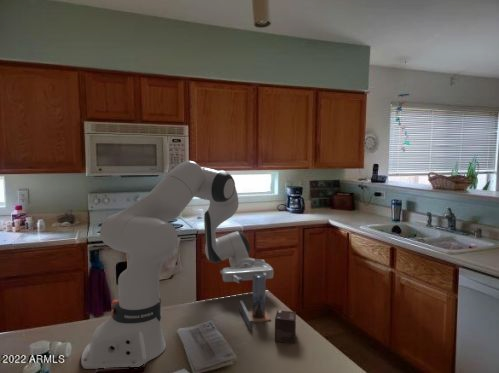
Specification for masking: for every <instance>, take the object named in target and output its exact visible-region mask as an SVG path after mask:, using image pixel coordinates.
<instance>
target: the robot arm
mask: <svg viewBox="0 0 499 373" xmlns="http://www.w3.org/2000/svg"><path fill="white" fill-rule="evenodd" d="M194 197H195V198H199V199H200V200H205V201H209V207H208V209H207V210H206V211H205V213H204V215H203V216H204V217H203V218H204V220H203V222H204V224H203V226H204V240H205V243H204V253H205V255H206V256H205V257H206V259H207V260H208V262H211V263H214V264H218V263H220V262H223V261H224V260H227V259H228V262H229V265H230V266H227V267H223V268H222V269H220V270H219V272H220V275H222V281H223V282H225V283H231V282H232V283H233V282H235V283H237V284H242V282H243V281H253V275H256V274H262V275H265V276H266V280H267V279H273V278H274V274H275V273H274V268H273V267H272V266H271V265H270V264H269V263H267V262H266V261H265V259H260V258H259V259H258V258H253V257H250V253H251V246H250V242H249V241H248V238H247V237H246V235H245V234H244V233H243V232H241V231H238V230H237V231H233V232H230V233H228V234H225V235H223V236H219V237H217V236H216V230H217V229H218V227H219V226H220V225H221V224H223V223H224V222H227V220H229V219H230V218H232V217H233V216H234V215H235V214H236V213H237V210H238V209H239V197H238V191H237V188H236V182H235V179H234V178H233V176H232V175H231V174H230V173H229V172H227V171H225V170H218V169H213V168H209V167H206V166H200V165H199V164H198V163H197V162H195V161H194V160H193V161H192V160H184V161H182V162H180V163H179V164H178V165H176V166H175V167H174V168H172V169H171V170H170V171H169V172H168V173H167V174H166V175H165V176H164V177H163V178H162V179H161V180H160V181H159V182H158V183H157V184H156V185H155V186H154V187H153V188H152V190H151V191H149V192H148V193H147V194H145V195H144V197H142V198H140V199H139V200H137V201H136V202H134V203H133V204H131V205H130V206H128V207H127V208H125V209H123V210H121V211H119V212H117V213H114V214H111V215H108V216H107V217H106V218H105V219H104V220H103V222H102V223H101V225H100V228H99V236H100V239H101V240H102V242H103V243H104V245H107V246H108V247H110V248H111V249H113V250H115V251H118V252H120V253H126V254H128V258H129V259H128V263H127V264H128V265H127V267H126V269H125V270H123V271H122V272H121V273H120V274H119V276H118V278H117V285H118V287H117V288H118V289H117V290H118V292H117V293H118V299H113V300H112V301H111V305H110V306H111V310H110V314H111V316H110V317H109V318H107V319H106V320H104V322H102V323H101V324H100V325H98V326H97V328H96V329H95V331H93V334H92V336H91V339H90V342H89V343H88V344H87V345H86V346H85V348H84V349H83V350H82V353H81V358H80V359H81V360H80V363H81V366H82V368H83V369H87V370H88V369H89V370H91V369H93V370H95V369H98V368H104V367H105V368H104V369H108V368H107V367H127V366H136V367H137V366H141V365H143V364H144V365H146V364H147V363H148V362H149V361H151V360H153V359H155V358H157V357H159V356H160V355H161V354H162V353H163V352H164V351H165V350H166V347H167V344H166V340H165V337H164V334H163V330H162V329H163V328H162V322H161V321H162V320H161V319H162V310H163V309H162V300H161V298H160V275H161V270H162V267H163V264H164V262H165V260H166V259H168V258H169V256H171V255H172V254H173V253H174V251H175V249H176V248H177V245H178V240H179V239H178V238H179V237H178V230H177V228H176V227H175V226H174V225H173V224H172V223H170V222H171V221H173V220H175V219H177V218H178V217H179V216H180V215H181V213H183V211H184V210H185V209H186V207H187V206H188V204H190V202H191V201H192V200H193V198H194ZM144 365H143V366H144Z"/></svg>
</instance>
